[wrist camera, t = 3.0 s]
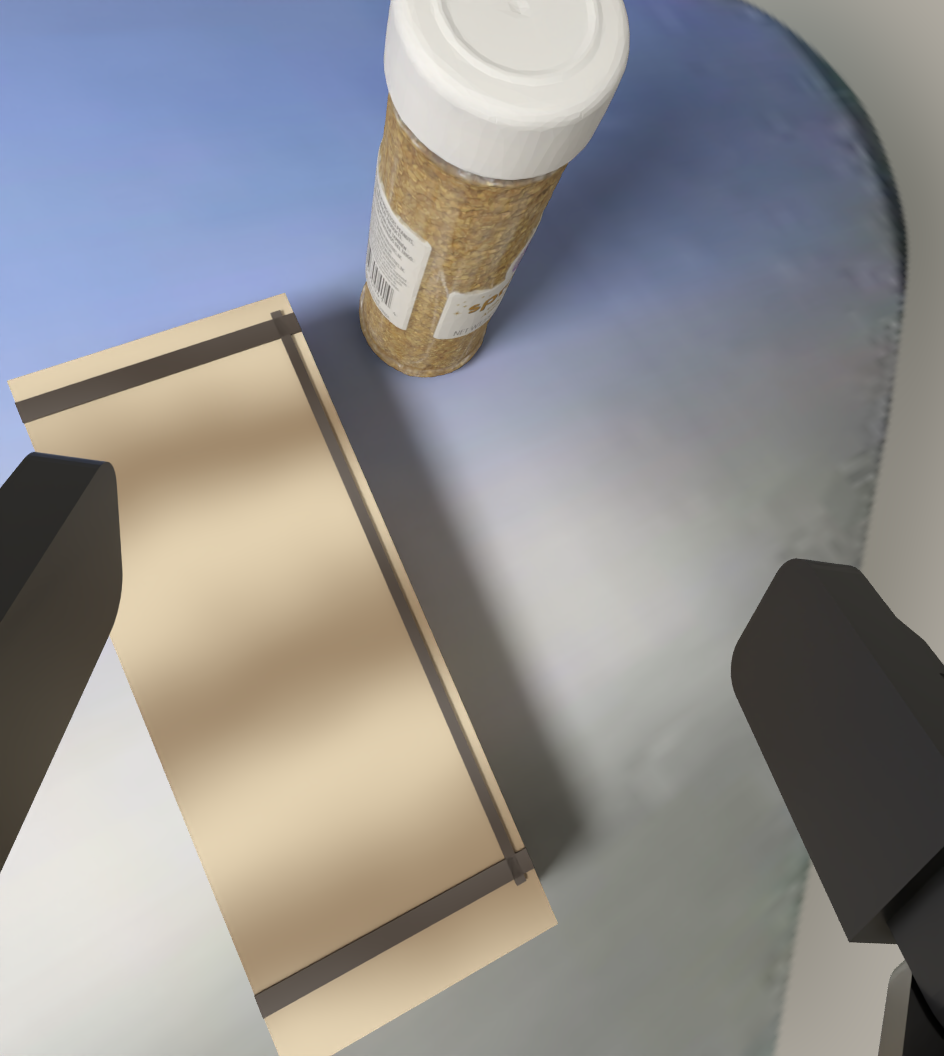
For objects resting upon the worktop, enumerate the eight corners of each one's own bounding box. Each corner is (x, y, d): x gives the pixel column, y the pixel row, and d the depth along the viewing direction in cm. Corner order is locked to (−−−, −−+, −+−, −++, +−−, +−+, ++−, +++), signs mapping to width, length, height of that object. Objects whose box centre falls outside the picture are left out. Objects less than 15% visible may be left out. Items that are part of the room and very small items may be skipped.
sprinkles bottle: (481, 387, 27) (636, 138, 14) (351, 372, 26) (384, 92, 13) (487, 266, 27) (639, -77, 14) (360, 249, 27) (400, -134, 14)
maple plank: (45, 413, 24) (5, 379, 21) (288, 332, 26) (284, 291, 23) (293, 1023, 22) (288, 1081, 19) (529, 890, 24) (558, 924, 21)
